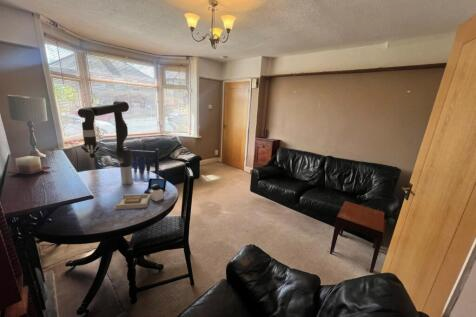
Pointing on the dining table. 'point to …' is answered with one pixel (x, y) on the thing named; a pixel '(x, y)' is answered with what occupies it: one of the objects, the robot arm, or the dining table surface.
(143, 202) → the tray
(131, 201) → the slab
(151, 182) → the handheld game console
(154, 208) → the dining table surface
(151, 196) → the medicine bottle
